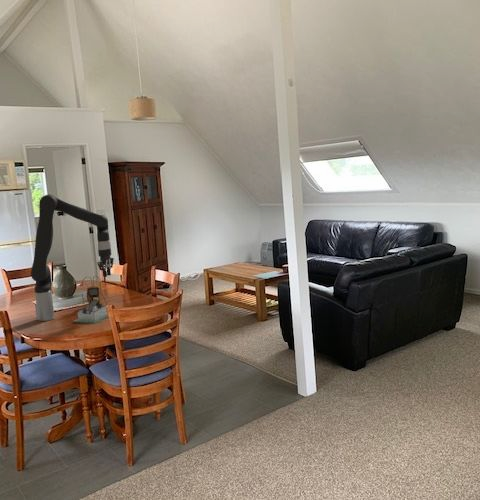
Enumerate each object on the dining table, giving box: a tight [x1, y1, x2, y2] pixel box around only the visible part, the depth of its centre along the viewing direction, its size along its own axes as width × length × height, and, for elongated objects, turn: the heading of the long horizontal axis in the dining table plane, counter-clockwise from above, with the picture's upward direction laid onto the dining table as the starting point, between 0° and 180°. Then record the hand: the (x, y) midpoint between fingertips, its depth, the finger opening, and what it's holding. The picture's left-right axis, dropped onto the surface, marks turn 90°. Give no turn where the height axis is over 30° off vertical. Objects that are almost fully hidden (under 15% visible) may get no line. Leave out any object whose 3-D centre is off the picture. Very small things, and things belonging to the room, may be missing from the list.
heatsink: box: [72, 303, 109, 324], centre depth 296 cm, size 16×19×7 cm
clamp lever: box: [85, 297, 99, 313], centre depth 294 cm, size 12×3×2 cm
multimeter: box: [81, 275, 108, 307], centre depth 319 cm, size 15×10×20 cm
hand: (107, 275), depth 303 cm, fingers open, 3 cm apart
